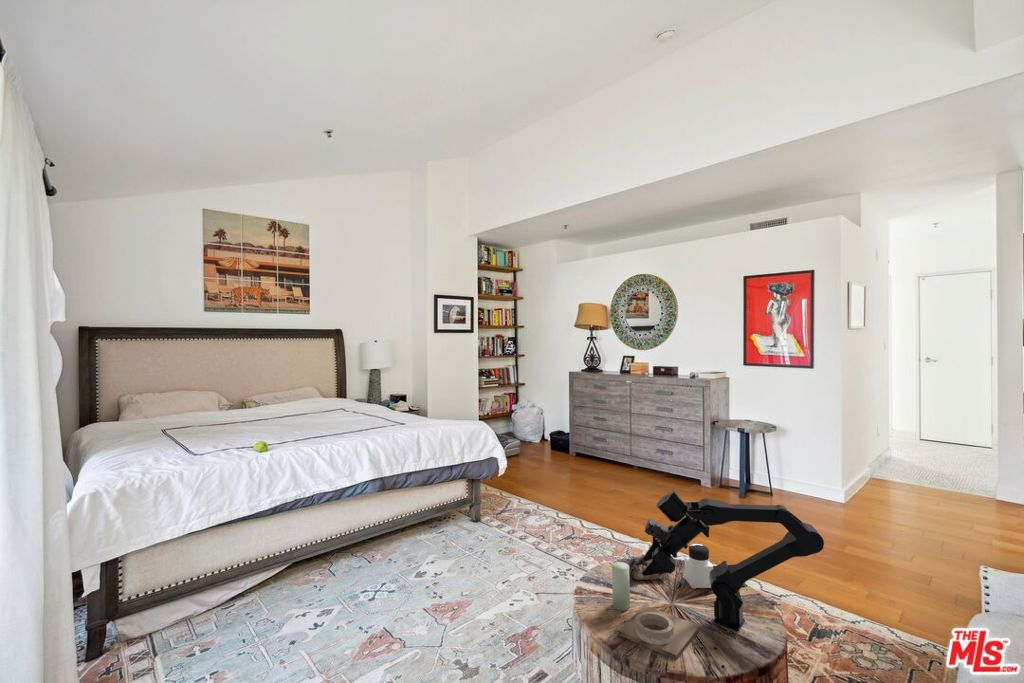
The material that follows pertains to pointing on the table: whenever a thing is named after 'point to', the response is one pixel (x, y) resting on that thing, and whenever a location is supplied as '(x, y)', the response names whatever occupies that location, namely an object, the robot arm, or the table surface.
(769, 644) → the table surface
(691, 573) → the medicine bottle
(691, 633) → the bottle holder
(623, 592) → the pale green peg
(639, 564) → the dark brown lumpy piece
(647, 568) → the robot arm
